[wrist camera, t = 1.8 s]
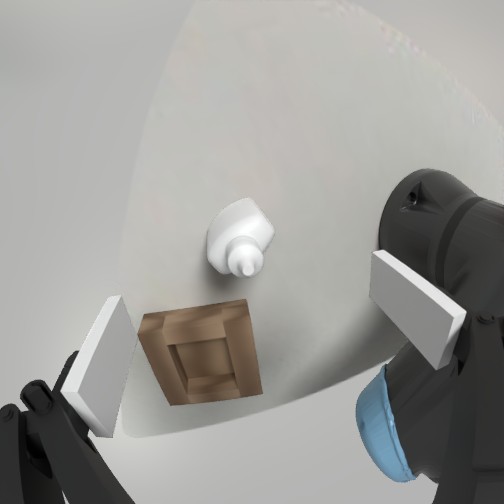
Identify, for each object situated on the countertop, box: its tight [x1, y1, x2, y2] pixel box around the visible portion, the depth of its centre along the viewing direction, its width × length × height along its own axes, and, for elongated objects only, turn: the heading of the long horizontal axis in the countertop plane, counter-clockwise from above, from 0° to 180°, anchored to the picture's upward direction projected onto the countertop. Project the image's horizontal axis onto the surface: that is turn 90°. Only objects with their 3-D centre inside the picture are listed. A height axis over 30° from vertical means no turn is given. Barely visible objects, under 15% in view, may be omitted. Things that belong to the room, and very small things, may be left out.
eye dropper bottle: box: [207, 198, 275, 278], centre depth 23 cm, size 4×6×12 cm
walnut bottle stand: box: [137, 299, 263, 406], centre depth 32 cm, size 12×12×4 cm
